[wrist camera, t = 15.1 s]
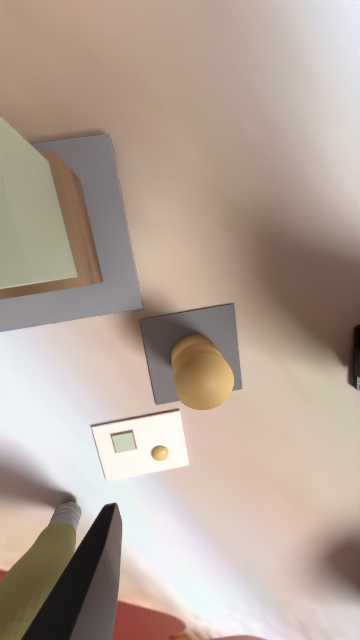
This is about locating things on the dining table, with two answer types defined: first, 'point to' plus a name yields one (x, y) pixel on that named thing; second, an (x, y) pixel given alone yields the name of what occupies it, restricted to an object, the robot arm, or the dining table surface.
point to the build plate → (109, 236)
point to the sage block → (29, 216)
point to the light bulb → (37, 572)
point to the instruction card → (141, 445)
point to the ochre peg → (200, 372)
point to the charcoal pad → (174, 326)
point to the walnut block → (68, 234)
